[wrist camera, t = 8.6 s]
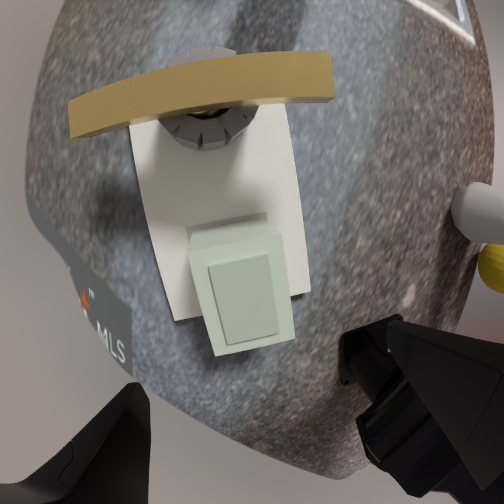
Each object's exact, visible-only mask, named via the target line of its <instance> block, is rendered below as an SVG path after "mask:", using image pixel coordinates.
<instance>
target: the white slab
mask: <svg viewBox="0 0 504 504" xmlns="http://www.w3.org/2000/svg"><path fill="white" fill-rule="evenodd" d="M188 50H189V57H188V56H187V55H186V54H185V53H184V52H183V51H181V52H180V53H179V54H177V55H176V56H174V57H173V58H172V59H170V60H169V61H167V62H166V63H165V66H166V68H167V67H171V66H175V65H180V64H184V63H189V62H194V61H200V60H205V59H211V58H218V57H225V56H232V55H236V51H233V50H230V49H227V48H223V47H220V46H217V45H216V47H215V49H214V51H213V53H212V55H211V49H210V45H206V46H200V47H194V48H188ZM129 129H130V136H131V142H132V148H133V154H134V160H135V166H136V171H137V177H138V182H139V187H140V192H141V197H142V202H143V206H144V211H145V215H146V219H147V224H148V228H149V232H150V236H151V240H152V244H153V248H154V252H155V256H156V259H157V263H158V267H159V270H160V274H161V277H162V281H163V284H164V288H165V291H166V294H167V298H168V301H169V304H170V307H171V310H172V313H173V317H174V320H175V321H177V320H182V319H187V318H193V317H198V316H203V313H202V309H201V306H200V302H199V298H198V295H197V291H196V287H195V283H194V279H193V275H192V271H191V267H190V263H189V259H188V255H187V250H188V246H189V242H190V238H191V234H192V231H196V230H201V229H205V228H210V227H215V226H220V225H225V224H230V223H235V222H240V221H245V220H250V219H255V218H260V217H262V218H263V219H264V220H266V221H267V222H268V223H269V224H271V225H272V226H273V227H275V228H276V229H277V230H278V231H280V232H281V233H282V239H283V246H284V253H285V260H286V268H287V275H288V283H289V291H290V296H293V295H298V294H302V293H306V292H310V291H311V289H310V278H309V268H308V259H307V250H306V241H305V233H304V225H303V217H302V209H301V202H300V195H299V188H298V181H297V175H296V168H295V162H294V156H293V150H292V144H291V138H290V132H289V126H288V121H287V116H286V110H285V105H284V104H266V105H252V106H242V107H232V108H230V109H229V110H228V111H227V112H225V113H224V114H223V115H222V116H220V117H218V118H212V119H207V118H204V117H201V116H197V115H194V114H190V113H189V114H183V115H178V116H172V117H167V118H162V119H158V120H153V121H149V122H144V123H140V124H136V125H132V126H129Z"/></svg>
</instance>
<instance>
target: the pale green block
mask: <svg viewBox="0 0 504 504" xmlns="http://www.w3.org/2000/svg"><path fill="white" fill-rule="evenodd" d="M187 255H188V259H189V263H190V267H191V271H192V275H193V279H194V283H195V287H196V291H197V295H198V298H199V302H200V306H201V309H202V313H203V316H204V320H205V324H206V327H207V330H208V334H209V337H210V341H211V344H212V347H213V351H214V354H215V356H221V355H226V354H231V353H235V352H240V351H245V350H249V349H254V348H258V347H262V346H267V345H271V344H275V343H279V342H283V341H287V340H291V339H294V338H295V332H294V324H293V315H292V307H291V299H290V291H289V283H288V275H287V268H286V260H285V253H284V246H283V239H282V233H281V232H280V231H278V230H277V229H276V228H275V227H273V226H272V225H271V224H269V223H268V222H267V221H266V220H264V219H263V218H262V217H260V218H255V219H250V220H245V221H240V222H235V223H230V224H225V225H220V226H215V227H210V228H205V229H201V230H196V231H192V234H191V238H190V242H189V246H188V250H187Z"/></svg>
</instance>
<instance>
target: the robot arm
mask: <svg viewBox="0 0 504 504" xmlns="http://www.w3.org/2000/svg"><path fill="white" fill-rule="evenodd" d="M397 319H398V320H397ZM402 320H403V317H402V316H401V315H400V314H396V315H393V316H390V317H388V318H385V319H382V320H380V321H377V322H374V323H371V324H368V325H366V326H363V327H360V328H357V329H354V330H351V331H348V332H345V333H344V334H343V335H342V337H341V383H342V385H343V386H347V385H350V384H352V383H355V382H357V383H358V384H359V385H360V387H361V388H362V390H363V391H364V392H365V394H366V395H367V397H368V398H369V400H370V401H371V402H372V405H371V406H370V407H369V408H368V409H367V410H366V411H364V412H363V413H362V414H361V415H359V416H358V417H357V418H356V419H355V420H356V424H357V428H358V431H359V434H360V437H361V441H362V444H363V447H364V450H365V454H366V457H367V458H368V459H369V460H370V462H371V463H372V464H373V465H375V466H377V467H378V468H379V469H381V470H382V471H384V472H388V473H389V474H390V475H391V476H392V477H393V478H394V479H395V480H396V481H397V482H398V483H399V485H400V486H401V487H402V488H403V489H404V491H405V492H406V493H407V494H408V495H411V496H414V497H417V498H421V497H423V496H424V495H425V494H427V493H428V492H429V491H433V492H443V493H449V494H450V495H451V496H452V497H453V498H454V499H455V500H456V501H457V502H458V503H459V504H504V344H501V343H494V342H489V341H485V340H480V339H475V338H471V337H467V336H462V335H458V334H454V333H450V332H446V331H442V330H437V329H433V328H429V327H425V326H421V325H417V324H413V323H409V322H405V321H402ZM348 336H349V337H348ZM347 337H348V338H347ZM346 338H347V339H346ZM150 448H151V427H150V402H149V398H148V397H147V395H146V393H145V391H144V389H143V387H142V385H141V384H140V383H139V382H133V383H128V384H127V385H126V386H125V387H124V388H123V389H122V390H121V391H120V392H119V393H118V394H117V395H116V396H115V397H114V398H113V399H112V400H111V401H110V402H109V403H108V404H107V405H106V406H105V407H104V408H103V409H102V410H101V411H100V412H99V413H98V414H97V415H96V416H95V417H94V418H93V419H92V420H91V421H90V422H89V423H88V424H87V425H86V426H85V427H84V428H83V429H82V430H81V431H80V432H79V433H78V434H76V435H75V436H74V438H72V440H71V441H69V442H68V443H67V444H66V445H65V446H64V447H63V448H62V449H61V450H60V451H59V452H58V453H57V454H56V455H55V456H53V457H52V458H51V459H50V460H49V461H48V462H46V463H45V464H44V465H43V466H41V467H40V468H39V469H37V470H36V471H35V472H34V473H33V474H31V475H30V476H29V477H27V478H26V479H24V480H23V481H20V482H17V483H12V484H0V504H148V485H149V484H148V483H149V463H150Z"/></svg>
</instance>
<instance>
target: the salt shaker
mask: <svg viewBox="0 0 504 504" xmlns="http://www.w3.org/2000/svg"><path fill="white" fill-rule="evenodd" d="M450 209H451V214H452V219H453V224H454V225H455V226H456V228H457V229H458V230H459V231H460V232H461V233H462V234H463V235H464V236H465V237H466V238H468V239H469V240H470V241H472V242H477V243H489V244H500V245H504V191H502V190H499V189H497V188H494V187H492V186H490V185H487V184H485V183H479V182H473V183H472V184H470V185H468V186H467V187H465V188H463V189H461V190H459V191H456V192H455V195H454V198H453V201H452V205H451V208H450Z"/></svg>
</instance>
